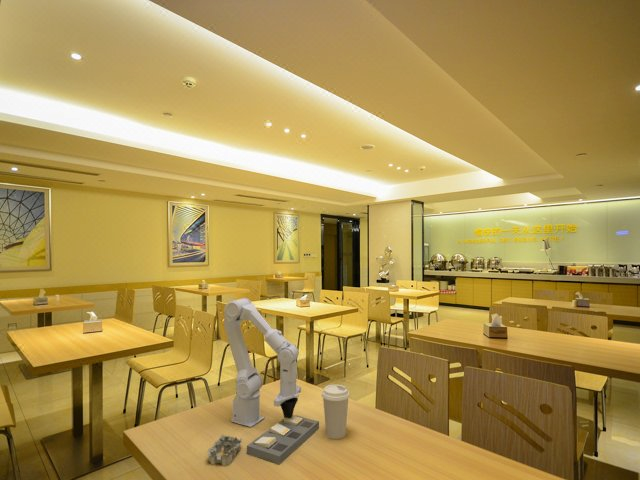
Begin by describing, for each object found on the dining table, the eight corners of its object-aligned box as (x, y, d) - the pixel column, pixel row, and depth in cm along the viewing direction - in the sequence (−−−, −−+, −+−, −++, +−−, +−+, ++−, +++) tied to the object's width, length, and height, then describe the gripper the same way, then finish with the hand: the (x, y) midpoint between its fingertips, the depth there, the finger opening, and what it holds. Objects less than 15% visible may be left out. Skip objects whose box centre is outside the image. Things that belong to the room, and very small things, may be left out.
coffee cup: (348, 443, 112) (348, 395, 113) (319, 440, 114) (318, 393, 115) (351, 428, 122) (351, 384, 122) (324, 426, 124) (324, 382, 124)
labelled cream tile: (283, 422, 122) (284, 418, 122) (290, 417, 126) (290, 413, 126) (296, 427, 120) (296, 423, 120) (302, 422, 123) (302, 418, 123)
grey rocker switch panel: (246, 453, 107) (246, 445, 107) (290, 420, 128) (290, 413, 128) (279, 464, 101) (279, 455, 101) (319, 428, 122) (319, 421, 122)
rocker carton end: (255, 446, 108) (254, 442, 108) (263, 440, 111) (262, 436, 112) (268, 447, 106) (267, 443, 106) (276, 441, 109) (275, 437, 109)
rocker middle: (270, 431, 115) (270, 427, 115) (277, 426, 119) (277, 422, 119) (282, 438, 113) (283, 434, 113) (289, 433, 116) (290, 429, 116)
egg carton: (228, 468, 100) (228, 453, 100) (204, 464, 102) (204, 450, 102) (244, 447, 111) (244, 434, 111) (222, 445, 112) (222, 432, 112)
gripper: (286, 389, 116) (286, 431, 115) (308, 375, 129) (308, 413, 128) (268, 385, 119) (268, 426, 119) (292, 372, 132) (291, 409, 132)
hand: (288, 419), depth 124 cm, fingers closed, pressing on labelled cream tile
